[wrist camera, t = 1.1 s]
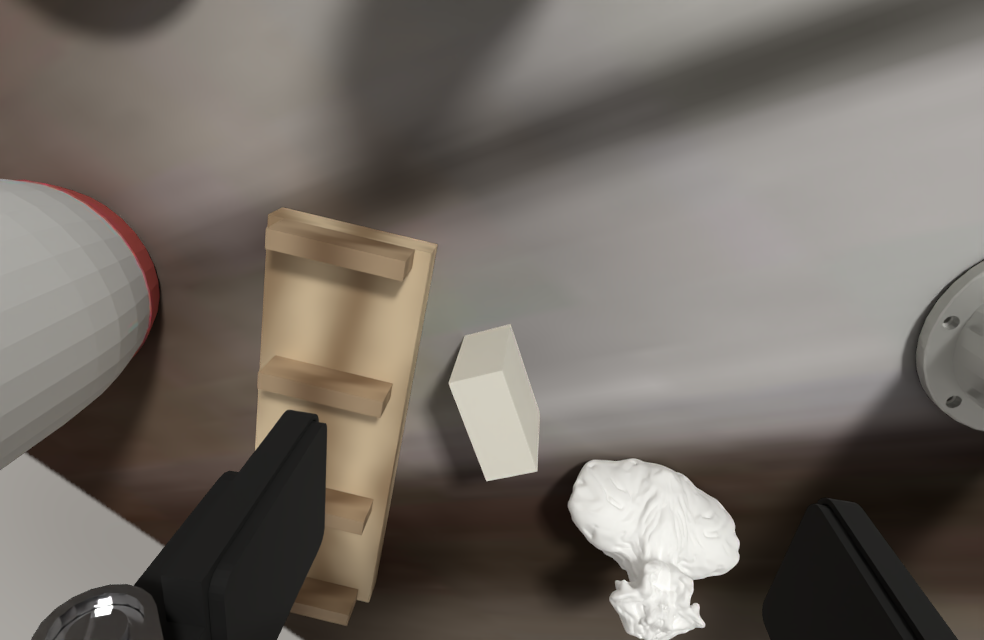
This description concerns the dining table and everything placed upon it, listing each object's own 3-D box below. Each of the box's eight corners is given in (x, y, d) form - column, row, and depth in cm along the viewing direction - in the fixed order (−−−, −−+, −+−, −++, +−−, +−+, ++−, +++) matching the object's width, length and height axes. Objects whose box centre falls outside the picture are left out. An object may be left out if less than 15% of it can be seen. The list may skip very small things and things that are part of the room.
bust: (563, 452, 44) (529, 612, 38) (597, 424, 37) (561, 612, 32) (710, 500, 44) (697, 665, 39) (770, 481, 38) (763, 677, 32)
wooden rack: (437, 244, 36) (423, 265, 32) (375, 582, 48) (359, 628, 44) (282, 207, 36) (248, 224, 32) (259, 554, 48) (233, 598, 44)
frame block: (510, 323, 38) (502, 370, 32) (539, 412, 40) (537, 471, 34) (462, 336, 38) (445, 383, 32) (494, 422, 41) (484, 481, 35)
